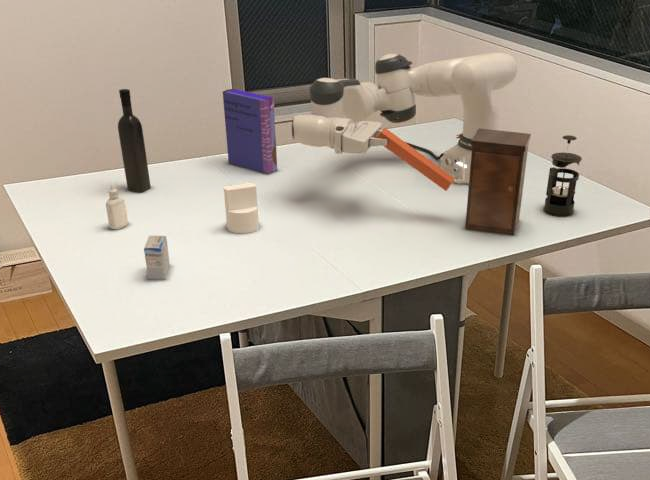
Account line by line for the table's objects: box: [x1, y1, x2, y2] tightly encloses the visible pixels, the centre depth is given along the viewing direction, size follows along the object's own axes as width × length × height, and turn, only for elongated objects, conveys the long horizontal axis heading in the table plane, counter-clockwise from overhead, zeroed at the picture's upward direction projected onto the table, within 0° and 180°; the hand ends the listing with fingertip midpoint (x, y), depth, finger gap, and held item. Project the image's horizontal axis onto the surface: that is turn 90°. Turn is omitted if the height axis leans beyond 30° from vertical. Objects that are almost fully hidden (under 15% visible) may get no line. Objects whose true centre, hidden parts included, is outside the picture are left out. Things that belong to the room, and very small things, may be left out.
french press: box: [542, 134, 583, 218], centre depth 248 cm, size 12×9×23 cm
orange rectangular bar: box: [377, 127, 455, 192], centre depth 239 cm, size 25×4×3 cm
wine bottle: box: [117, 88, 152, 193], centre depth 250 cm, size 6×6×30 cm
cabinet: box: [464, 128, 532, 236], centre depth 236 cm, size 15×13×26 cm
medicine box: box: [143, 235, 171, 280], centre depth 208 cm, size 8×4×9 cm, turn 5°
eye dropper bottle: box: [105, 184, 129, 231], centre depth 231 cm, size 4×6×12 cm
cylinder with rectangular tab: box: [223, 182, 260, 234], centre depth 233 cm, size 9×9×12 cm
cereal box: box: [222, 88, 278, 175], centre depth 272 cm, size 17×5×24 cm, turn 58°
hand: (390, 139), depth 237 cm, fingers closed on orange rectangular bar, 4 cm apart
